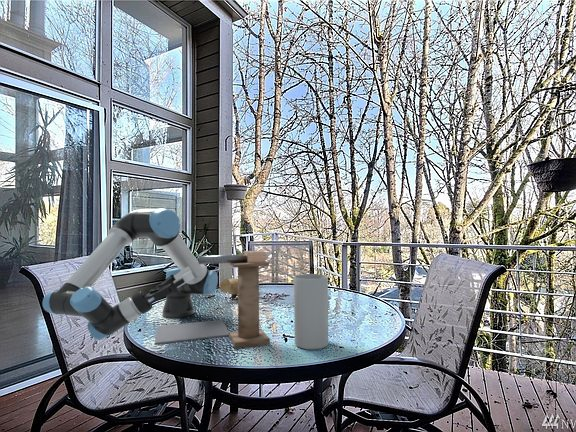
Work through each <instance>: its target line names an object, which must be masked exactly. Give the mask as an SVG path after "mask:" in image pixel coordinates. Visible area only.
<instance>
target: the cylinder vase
mask: <svg viewBox="0 0 576 432" xmlns="http://www.w3.org/2000/svg"><path fill="white" fill-rule="evenodd" d="M328 277H329V276H328V275H327V274H326V275H325V274H320V273H318V274H317V273H302V274H297V275H294V276H293V308H294V309H293V313H294V314H293V315H294V316H293V317H294V319H293V322H294V325H293V326H294V329H293V331H294V332H293V333H294V344H295V346H296V347H298V348H299V349H303V350H310V351H311V350H314V351H315V350H321V349H324V348H326V347H327V346H328V345H329V294H328V293H329V288H328V287H329V285H328V284H329V283H328V282H329V280H328V279H329V278H328Z"/></svg>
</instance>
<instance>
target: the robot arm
mask: <svg viewBox="0 0 576 432" xmlns="http://www.w3.org/2000/svg"><path fill="white" fill-rule="evenodd" d="M180 229H181V223H180V218H179V216H178V214H177V213H176V212H175V211H173V210H172V209H168V208H163V207H160V208H159V207H158V208H149V209H148V208H147V209H142V208H139V209H135V210H134V209H133V210H132V211H130V212H128V213H126V214H125V215H123V216H122V217H121V218H119V220H117V221H116V222H115V223H114V224H113V225H112V226H111V227H110V228H109V230H108V235H107V236H106V237H105V238H104V239H103V240H102V241H101V242H100V243H99V245H97V247H96V248H95V249H94V250H93V251H92V252H91V254H90V255H89V256H88V257H87V258H86V259H85V260H84V261H83V262H82V263H81V265H80V266H79V267H78V268H77V269H76V271H74V272H73V274H71V276H70V277H69V278H68V279H67V280H66V281H65V282H64V283H63V285H61V287H60V288H59V289H55V290H51V291H49V292H47V293H46V294H45V296H44V297H43V300H42V307H43V310H44V311H45V312H47V313H50V314H55V315H64V316H65V315H66V316H70V317H71V316H72V317H73V316H74V317H79V318H80V317H82V318H85V320H87V321H88V323H87V325H86V326H87V330H88V333H89V334H90V335H91V336H92V338H94V339H95V340H97V341H102V340H105V338H108V337H109V336H112V335H113V334H114V333H115V332H117V331H118V330H120V329H122V328H123V327H125V326H126V325H129V323H131V322H136V321H137V319H138V318H139V317H141V316H142V315H143V314H146V313H147V312H149V311H151V310H153V303H155V302H157V301H159V300H161V299H163V298H165V301H164V305H163V307H162V310H161V311H162V314H161V315H162V317H164V318H169V319H179V318H184V317H185V318H187V317H189V316H191V315H193V314H195V307H194V305H193V302H192V298H191V296H192V295H198V296H199V295H200V296H211V295H213V294H214V293H215V292H216V289H217V287H218V282H219V281H218V279H219V277H218V274H217V272H216V271H215V270H209V269H208V268H207V266H206V264H199V260H198V259H197V257H196V256H195V255H194V254H193V252H192V251H191V249H190V248H189V247H188V245H187V244H186V243H185V241H184V240H183V238H182V237H181V235H180ZM141 238H144V239H145V238H146V239H147V238H148V239H149V240H150V241H151V242H152V243H153V245H155V246H156V247H161V248H162V249H163V250H164V251H165V253H166V255H168V257H169V258H170V259H171V260H172V262H173V263H174V264H175V265H176V268H169V269H168V270H166V273H165V274H166V275H165V276H166V277H165V280H164V281H162V282H161V283H159V284H158V285H156V286H155V287H152V288H151V289H150V290H149V291H148V293H147V294H146V293H145V291H144V290H139V291H138V292H136V293H135V294H132V295H131V297H130V296H129V297H127V298H126V299H124V300H123V301H121V302H119V303H118V304H116V305H114V306H112V305H111V304H110V303H109V302H108V301H107V300H106V299H105V298H104V297H103V296H102V295H101V293H100V292H98V291H97V290H96V289H94V287H93V285H95V283H96V282H97V281H98V280H99V278H101V276H102V275H103V274H104V273H105V271H106V270H107V269H108V268H109V267H110V265H111V264H112V263H113V262H114V260H116V258H117V257H118V256H119V254H120V253H122V251H123V250H124V248H125V247H126V246H130V245H131V244H132V243H133V242H134V241H135V240H137V239H141Z"/></svg>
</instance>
